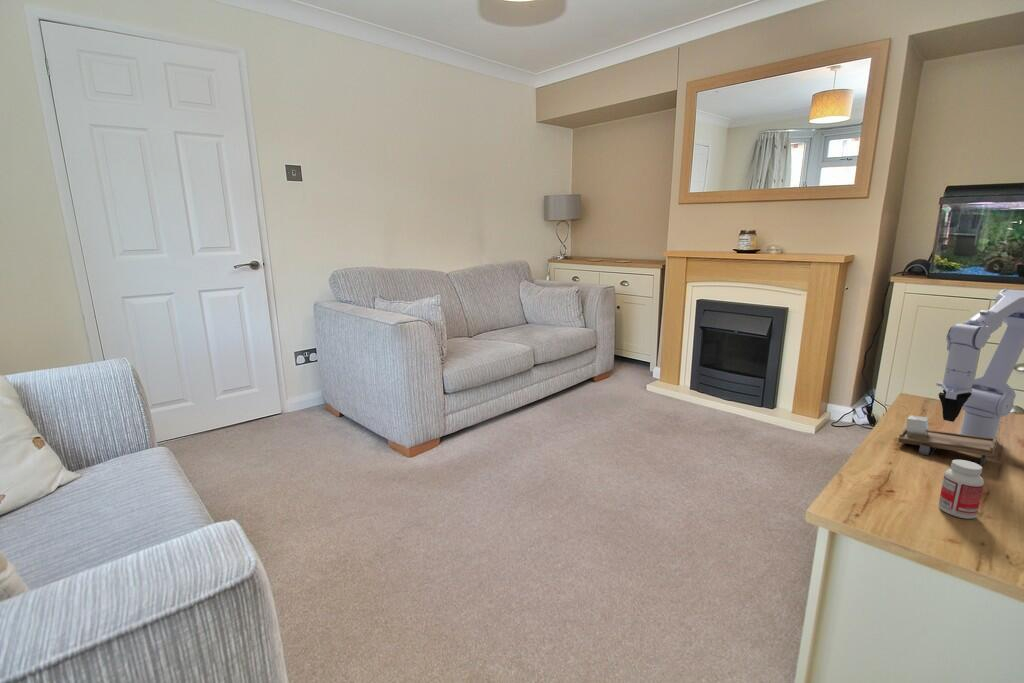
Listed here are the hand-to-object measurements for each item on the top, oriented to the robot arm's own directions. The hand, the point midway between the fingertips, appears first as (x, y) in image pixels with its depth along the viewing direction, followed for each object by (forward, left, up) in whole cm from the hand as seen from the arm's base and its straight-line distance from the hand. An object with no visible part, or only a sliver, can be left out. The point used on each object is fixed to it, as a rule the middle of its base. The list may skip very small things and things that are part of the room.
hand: (950, 418), depth 129 cm
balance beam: (0, -3, -7) cm, 8 cm away
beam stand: (0, -3, -10) cm, 10 cm away
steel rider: (0, -6, -7) cm, 9 cm away
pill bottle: (+35, +7, -10) cm, 37 cm away
